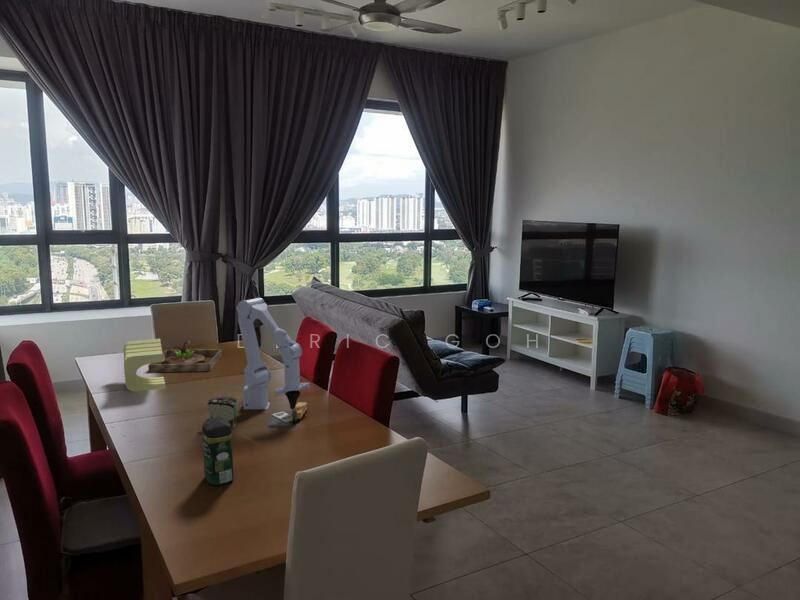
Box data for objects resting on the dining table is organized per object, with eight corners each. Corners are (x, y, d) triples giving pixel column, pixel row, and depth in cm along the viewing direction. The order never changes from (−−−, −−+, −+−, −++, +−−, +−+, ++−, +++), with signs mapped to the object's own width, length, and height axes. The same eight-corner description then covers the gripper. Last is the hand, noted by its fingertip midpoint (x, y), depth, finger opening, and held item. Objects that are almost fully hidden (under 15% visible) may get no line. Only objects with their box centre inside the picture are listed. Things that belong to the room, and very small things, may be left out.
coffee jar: (201, 476, 187) (198, 417, 184) (227, 470, 191) (225, 413, 188) (210, 488, 179) (207, 428, 176) (236, 482, 183) (234, 423, 180)
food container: (246, 424, 230) (245, 398, 228) (236, 430, 224) (235, 403, 222) (218, 420, 234) (217, 394, 232) (208, 425, 228) (206, 399, 226)
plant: (212, 363, 313) (211, 342, 311) (175, 370, 300) (174, 348, 298) (194, 356, 327) (193, 335, 325) (158, 362, 314) (156, 341, 312)
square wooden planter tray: (148, 372, 296) (148, 364, 295) (166, 356, 324) (165, 350, 324) (210, 371, 298) (210, 364, 298) (222, 355, 327) (221, 349, 326)
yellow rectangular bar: (300, 418, 232) (300, 412, 231) (291, 418, 232) (291, 412, 231) (307, 408, 243) (307, 402, 243) (298, 407, 244) (298, 401, 243)
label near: (285, 422, 230) (285, 421, 230) (278, 418, 234) (278, 417, 234) (296, 419, 233) (296, 418, 233) (289, 415, 237) (289, 414, 237)
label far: (278, 418, 234) (278, 417, 234) (271, 415, 237) (271, 414, 237) (289, 415, 237) (289, 414, 237) (283, 412, 241) (283, 411, 241)
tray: (266, 427, 227) (266, 413, 226) (271, 413, 241) (271, 400, 240) (299, 426, 228) (299, 413, 227) (302, 412, 242) (302, 399, 242)
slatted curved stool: (125, 379, 284) (123, 341, 281) (162, 375, 291) (160, 338, 288) (126, 398, 257) (123, 357, 254) (166, 393, 264) (164, 353, 261)
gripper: (281, 381, 229) (281, 415, 232) (313, 374, 239) (314, 407, 241) (271, 376, 234) (272, 411, 237) (303, 370, 244) (304, 402, 246)
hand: (292, 408), depth 239 cm, fingers closed
